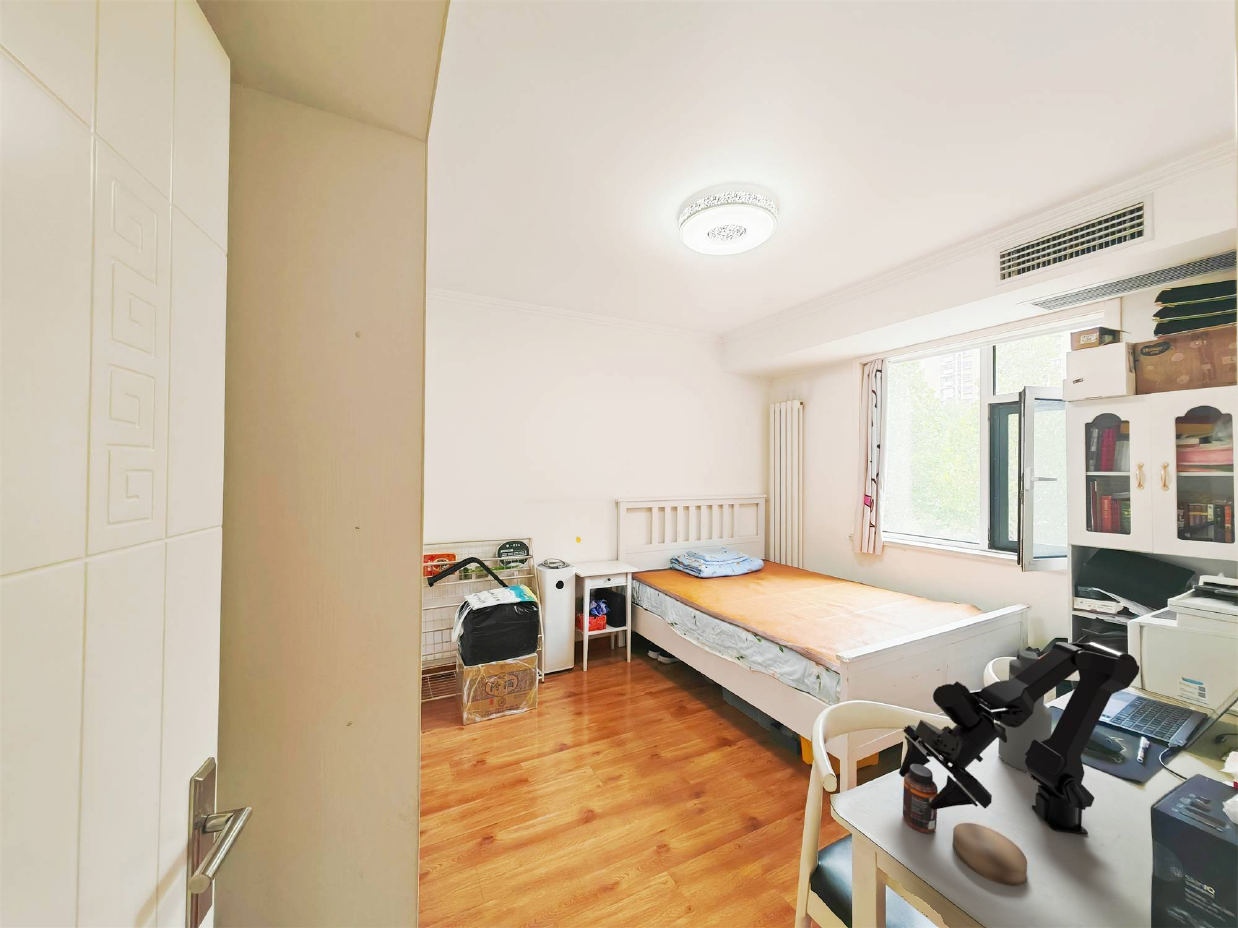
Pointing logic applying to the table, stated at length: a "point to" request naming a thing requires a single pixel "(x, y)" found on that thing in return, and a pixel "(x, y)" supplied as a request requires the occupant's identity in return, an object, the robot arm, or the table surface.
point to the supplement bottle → (919, 799)
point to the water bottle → (1032, 728)
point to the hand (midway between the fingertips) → (914, 790)
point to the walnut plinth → (990, 854)
